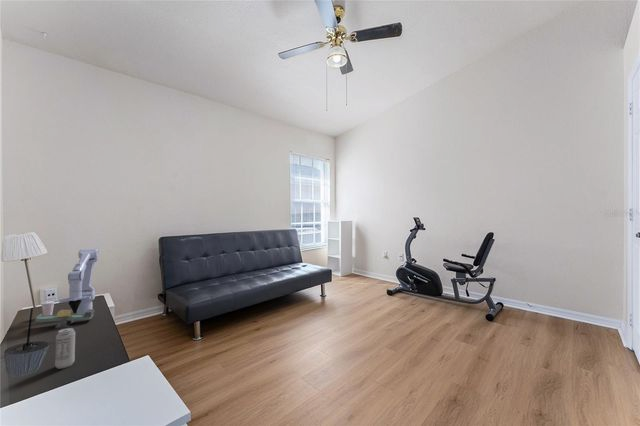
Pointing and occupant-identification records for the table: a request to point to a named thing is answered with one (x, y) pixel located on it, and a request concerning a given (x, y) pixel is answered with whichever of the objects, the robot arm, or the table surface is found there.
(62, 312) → the block
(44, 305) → the smoothie
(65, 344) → the energy drink can
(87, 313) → the beam
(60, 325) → the pivot stand
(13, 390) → the table surface
